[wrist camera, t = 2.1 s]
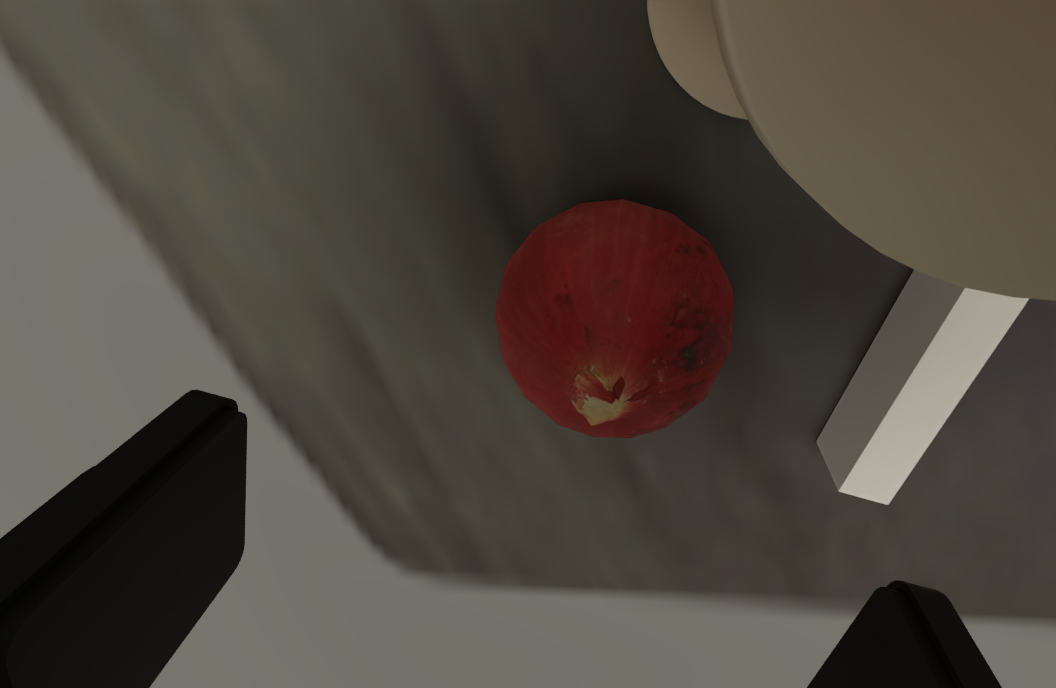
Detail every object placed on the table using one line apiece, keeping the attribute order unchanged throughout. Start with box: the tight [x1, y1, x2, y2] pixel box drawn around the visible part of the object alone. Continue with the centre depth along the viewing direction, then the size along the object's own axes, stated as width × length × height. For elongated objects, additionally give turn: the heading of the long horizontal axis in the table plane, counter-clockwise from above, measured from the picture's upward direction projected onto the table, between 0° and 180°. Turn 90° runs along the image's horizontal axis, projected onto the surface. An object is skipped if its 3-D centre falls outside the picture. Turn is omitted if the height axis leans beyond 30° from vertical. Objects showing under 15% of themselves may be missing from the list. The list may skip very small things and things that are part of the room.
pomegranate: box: [495, 199, 734, 438], centre depth 15 cm, size 6×6×8 cm
